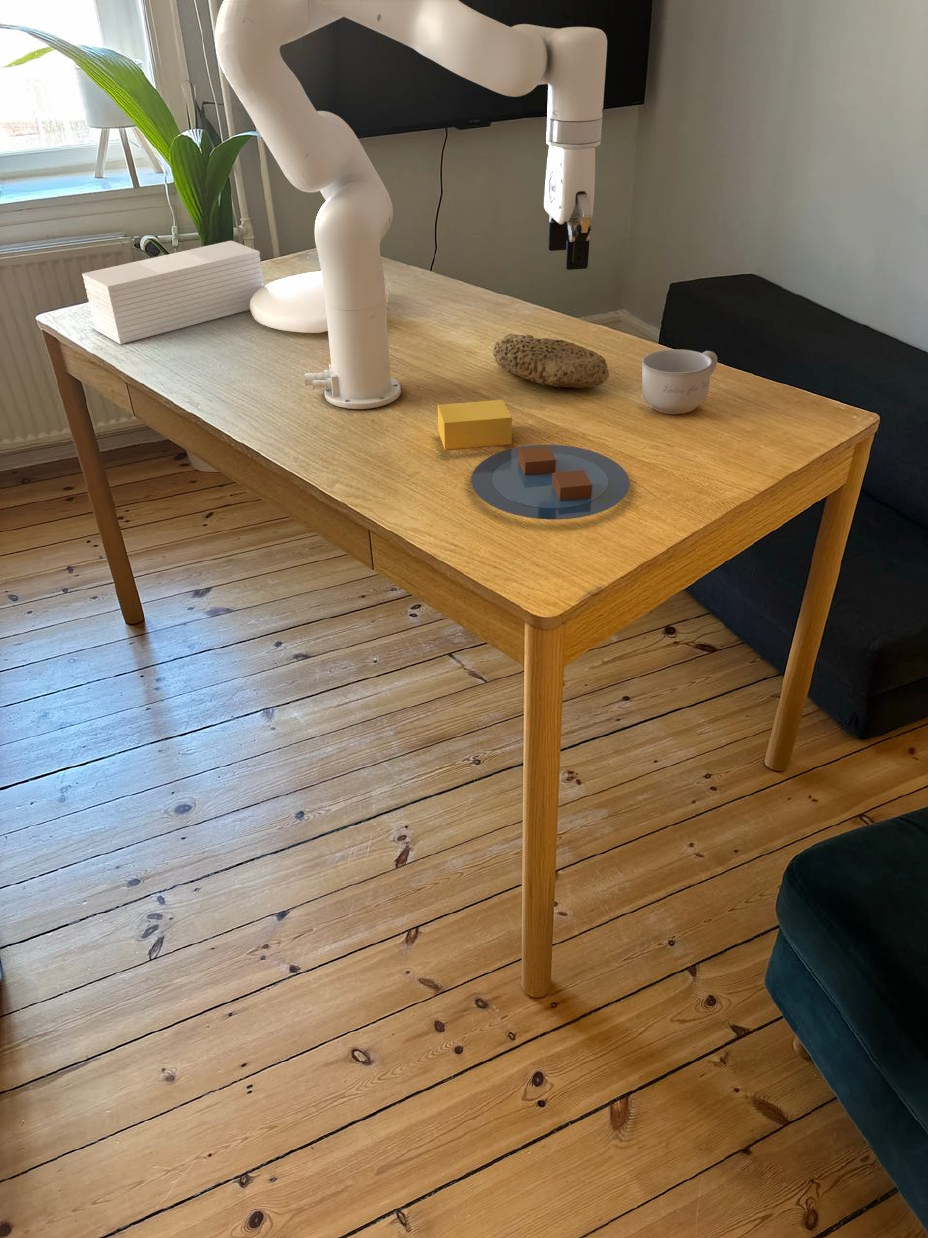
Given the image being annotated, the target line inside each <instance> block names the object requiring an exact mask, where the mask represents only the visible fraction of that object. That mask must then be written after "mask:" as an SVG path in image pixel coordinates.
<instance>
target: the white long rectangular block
mask: <svg viewBox="0 0 928 1238" xmlns="http://www.w3.org/2000/svg"><path fill="white" fill-rule="evenodd" d="M81 275H82V279H83V284H84V288H85V289H86V290H85V293H86V296H87V299H88V300H87V302H88V304H89V309H90V314H91V318H92V323H93V326H94V330H95V331H97V332H98V333H100V334H102V335H104V336H105V337H107V338H108V339H110V340H112V341H114V342H116V343H117V344H119V345H122V344H126V343H131V342H134V341H138V340H141V339H142V340H143V339H145V338H149V337H152V336H153V337H154V336H156V335H160V334H164V333H167V332H171V331H176V330H179V329H183V328H186V327H190V326H194V325H197V324H202V323H205V322H209V321H212V320H217V319H220V318H223V317H227V316H231V315H235V314H238V313H242V312H246V311H251V310H250V300H251V298H252V297H253V295H254V294H255V293H256V292H257V291H258V290H259V289H260V288H262V287H264V286H265V284H264V277H263V269H262V262H261V252H260V251H259V250H257V249H254V248H252V247H249V246H246V245H244V244H241V243H240V242H239V243H238V242H236V241H234V240H227V241H223V242H218V243H214V244H209V245H204V246H199V247H196V248H191V249H187V250H183V251H178V252H173V253H169V254H165V255H160V256H154V257H151V258H146V259H141V260H137V261H133V262H132V261H131V262H128V263H124V264H119V265H115V266H110V267H106V268H101V269H97V270H92V271H87V272H82V273H81Z"/></svg>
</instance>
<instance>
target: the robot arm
mask: <svg viewBox="0 0 928 1238" xmlns="http://www.w3.org/2000/svg"><path fill="white" fill-rule="evenodd" d="M342 18H346V19H348V20H350V21H352V22H354V23H357V24H359V25H361V26H363V27H365V28H368V29H370V30H373V31H374V32H376V33H379V34H381V35H384V36H385V37H388V38H390V39H392V40H394V41H396V42H399V43H401V44H402V45H405V46H407V47H409V48H411V49H413V50H414V51H416V52H417V53H418V54H420V55H421V56H423V57H425V58H427V59H429V60H431V61H433V62H435V63H436V64H438V65H439V66H441V67H443V68H445V69H447V70H448V71H450V72H452V73H454V74H456V75H458V76H460V77H461V78H464V79H466V80H468V81H471V82H473V83H475V84H477V85H479V86H482V87H483V88H486V89H488V90H490V91H492V92H494V93H497V94H499V95H503V96H507V97H513V98H517V97H522V96H525V95H527V94H529V93H531V92H532V91H534V89H535V88H537V86H540V85H547V88H548V89H547V113H546V115H547V118H546V137H545V138H546V139H545V140H546V142H545V143H546V145H547V146H548V151H547V159H546V169H545V180H544V181H545V182H544V195H543V208H544V211H545V212H546V213H547V214H548V221H549V222H548V238H547V239H548V242H547V249H548V250H549V252H555V251H556V252H557V251H565V269H566V270H568V271H573V270H574V271H575V270H585V269H587V268H588V267H589V256H590V241H591V231H592V226H591V223H592V219H593V215H594V207H595V187H596V185H595V184H596V147H599V146H600V145H601V143H602V129H603V127H602V126H603V115H604V114H603V113H604V100H605V99H604V98H605V85H606V69H607V57H608V55H607V53H608V38H607V37H608V36H607V35H606V32H604V31H603V29H600V28H596V27H592V26H591V27H589V26H568V27H562V28H555V27H546V26H540V25H536V24H529V23H521V24H515V25H513V26H509V25H506V24H504V23H502V22H499V21H498V20H496V19H493V18H491V17H489V16H487V15H485V14H483V13H480V12H478V11H477V10H475V9H473V8H471V7H469V6H468V5H466V4H464V2H462V1H460V0H223V1H222V3H221V5H220V7H219V10H218V13H217V16H216V21H215V29H214V31H215V32H214V39H215V40H214V42H215V49H216V54H217V58H218V61H219V65H220V67H221V69H222V72H223V74H224V75H225V78H226V79H227V82H228V83H229V85H230V86H231V88H232V91H234V93H235V94H236V96H237V98H238V99H239V101H240V102H241V104H242V106H243V108H244V109H245V110H246V112H247V114H248V116H249V117H250V119H251V121H252V123H253V124H254V126H255V128H256V130H257V132H258V133H259V135H260V136H261V138H262V140H263V142H264V143H265V144H266V146H267V148H268V149H269V151H270V153H271V154H272V156H273V158H274V159H275V161H276V163H277V165H278V166H279V168H280V170H281V171H282V173H283V175H284V176H285V177H286V179H287V181H288V182H289V183H290V184H291V185H293V187H294V188H296V189H297V190H299V191H301V192H305V193H317V192H320V194H321V195H322V197H323V199H324V200H325V202H324V203H323V204H322V206H321V207H320V209H319V211H318V213H317V216H316V219H315V223H314V241H315V243H314V244H315V247H316V253H317V256H318V261H319V265H320V266H319V267H320V271H321V272H322V279H323V287H324V297H325V305H326V315H327V326H328V331H327V335H328V345H329V347H328V348H329V356H330V357H329V358H330V363H329V364H328V369H324V370H323V372H305V373H303V374H304V384H305V386H312V389H313V390H319V389H323V392H324V398H325V400H326V401H327V402H328V403H330V404H331V405H334V406H335V407H340V408H341V409H342V408H343V409H347V410H348V409H349V410H368V409H375V408H380V407H383V406H386V405H389V404H391V403H393V402H395V401H396V400H397V399H398V398H399V397H400V396H401V393H402V390H401V387H402V386H401V384H400V382H399V381H398V380H396V379H395V378H393V377H391V363H390V348H389V347H390V344H389V330H388V312H387V310H388V309H387V305H386V295H385V283H386V282H385V273H384V267H383V262H382V256H381V241H382V240H383V238H384V237H385V235H386V234H388V231H389V230H390V228H391V225H392V222H393V219H394V208H393V207H394V206H393V202H392V199H391V196H390V194H389V191H388V190H387V188H386V186H385V184H384V182H383V181H382V179H381V177H380V175H379V174H378V171H377V170H376V168H375V166H374V165H373V163H372V161H371V159H370V158H369V156H368V154H367V152H366V151H365V148H364V146H363V145H362V144H361V142H360V140H359V138H358V136H357V135H356V133H355V131H354V130H353V129H352V128H351V127H350V125H349V124H348V123H347V122H346V121H345V120H344V119H343V118H342V117H341V116H339V115H337V114H335V113H333V112H330V111H327V110H325V111H324V110H316V108H315V107H314V105H313V103H312V101H311V100H310V98H309V96H308V95H307V94H306V91H305V90H304V87H303V85H302V84H301V82H300V80H299V79H298V78H297V75H296V74H295V73H294V72H293V71H292V70H291V68H289V66H288V65H287V63H286V62H285V60H284V59H283V57H282V54H281V50H280V49H281V46H283V45H286V44H289V43H291V42H294V41H297V40H299V39H301V38H303V37H305V36H306V35H309V34H311V33H313V32H315V31H317V30H319V29H321V28H323V27H325V26H328V25H329V24H331V23H334V22H336V21H338V20H340V19H342ZM575 226H576V227H575Z"/></svg>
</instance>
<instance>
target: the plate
mask: <svg viewBox="0 0 928 1238" xmlns="http://www.w3.org/2000/svg"><path fill="white" fill-rule="evenodd" d="M263 286H264V287H262V288H260V289H259V290H258V291H257V292H256V293H255V294H254V295H253V297H252V298H251V300H250V310H249V311H250V313H251V315H252V317H253V319H254V320H255V321H256V322H258V324H260V325H262V326H264V327H268V328H271V329H275V330H278V331H284V332H290V333H291V332H292V333H303V334H304V333H305V334H320V333H326V332H328V326H327V315H326V305H325V297H324V287H323V279H322V272H321V270H318V271H317V270H316V271H311V272H304V273H299V274H294V275H291V276H287V277H283V278H280V279H277V280H274V281H271V282H269V283H267V284H266V285H263ZM385 295H386V306H387V305H388V302H389V298H390V291H389V287H388V285H387V283H386V282H385Z"/></svg>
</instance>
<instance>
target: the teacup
mask: <svg viewBox="0 0 928 1238" xmlns="http://www.w3.org/2000/svg"><path fill="white" fill-rule="evenodd" d="M641 365H642V368H641V369H642V370H641V372H642V373H641V393H642V397H643V399H644V401H645V402H646V403H647V404H648V405H649V406H651V408H652V409H653V410H655V411H657V412H659V413H661V414H666V415H667V414H668V415H682V414H683V415H684V414H687V413H691V412H692V411H694V410H695V409H696V408H697V407H699V406H700V405H702V404H703V403H704V402H705V401H706V399H707V397H708V393H709V390H710V382H711V376H712V375H713V374H714V372H715V371H716V369H717V365H718V356H717V355H716V353H715V352H714V351H710V350H704V351H703V352H700V351H696V350H691V349H681V348H680V349H679V348H678V349H671V348H669V349H661V350H656V351H653V352H649V353H648V354H646V355H645V356H643V358H642V359H641Z"/></svg>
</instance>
